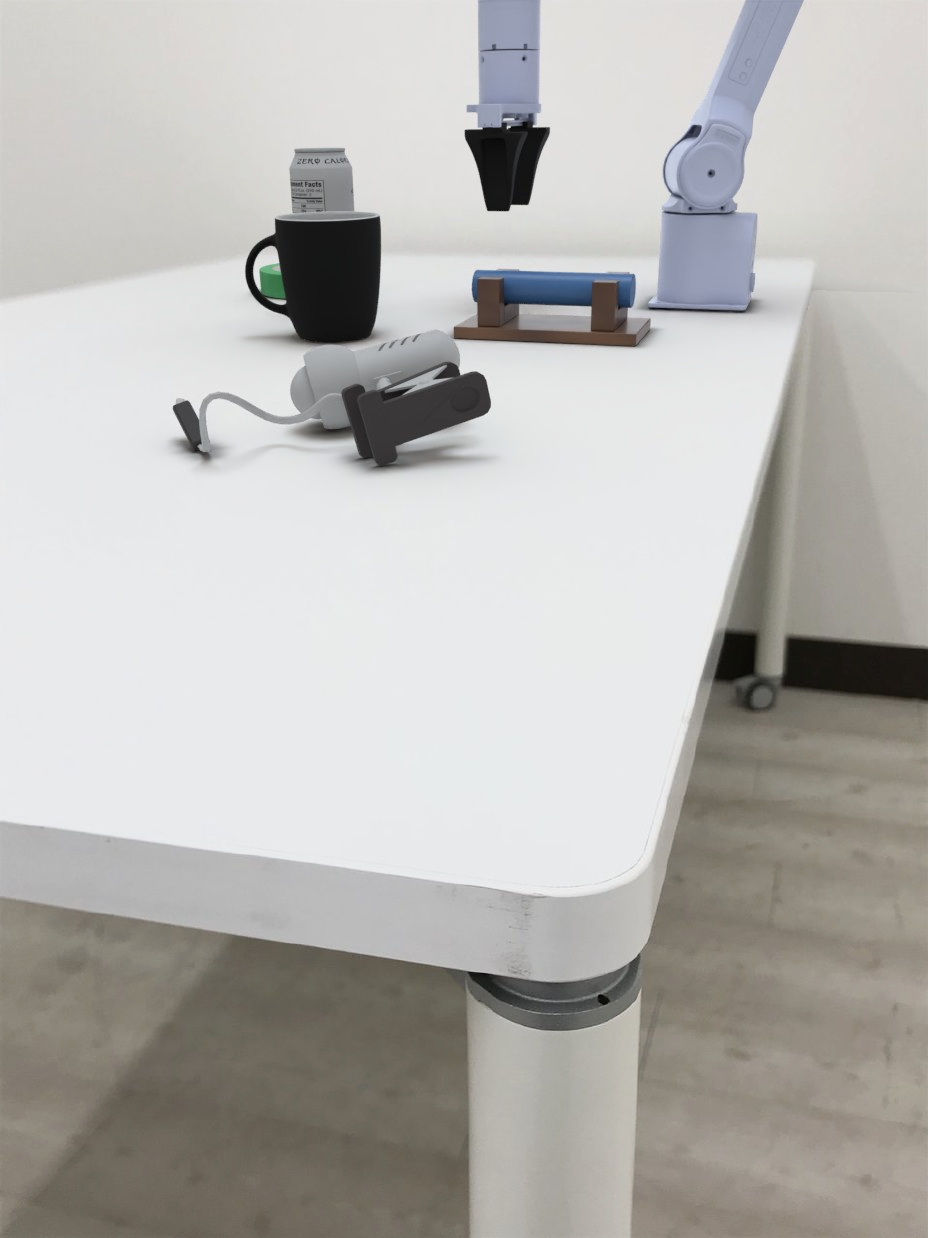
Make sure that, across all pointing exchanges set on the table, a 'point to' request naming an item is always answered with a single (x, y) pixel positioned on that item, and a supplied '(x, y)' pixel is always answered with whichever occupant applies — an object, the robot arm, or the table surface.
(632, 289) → the handle
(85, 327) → the table surface
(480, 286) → the holder
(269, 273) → the tape roll
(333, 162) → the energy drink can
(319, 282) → the mug
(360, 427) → the clip-on lamp
